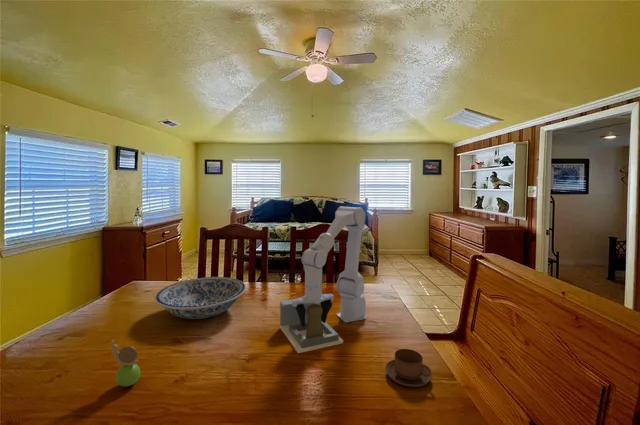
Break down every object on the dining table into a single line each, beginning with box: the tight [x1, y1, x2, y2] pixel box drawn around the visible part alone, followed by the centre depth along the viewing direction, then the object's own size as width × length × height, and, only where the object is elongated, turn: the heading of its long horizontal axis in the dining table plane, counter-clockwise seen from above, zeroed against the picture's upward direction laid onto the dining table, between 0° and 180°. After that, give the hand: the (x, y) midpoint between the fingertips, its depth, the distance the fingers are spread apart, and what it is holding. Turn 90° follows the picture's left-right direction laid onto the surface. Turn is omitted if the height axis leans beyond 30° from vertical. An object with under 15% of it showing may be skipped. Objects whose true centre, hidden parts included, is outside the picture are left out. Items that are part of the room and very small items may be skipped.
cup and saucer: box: [385, 348, 432, 388], centre depth 85 cm, size 12×12×6 cm
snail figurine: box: [110, 339, 141, 388], centre depth 80 cm, size 5×6×12 cm
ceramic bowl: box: [154, 276, 247, 320], centre depth 126 cm, size 34×34×10 cm
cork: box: [306, 304, 323, 339], centre depth 104 cm, size 6×6×11 cm
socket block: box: [279, 299, 344, 354], centre depth 108 cm, size 16×19×10 cm
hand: (313, 323), depth 105 cm, fingers open, 7 cm apart
